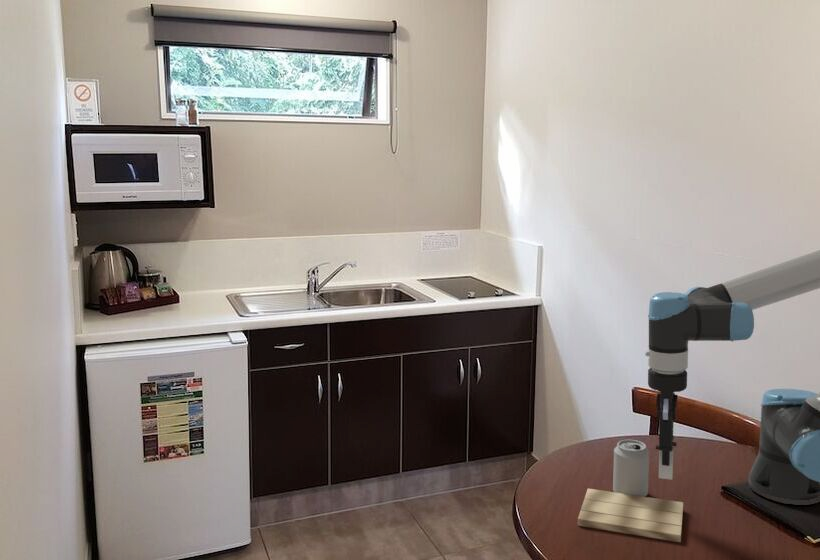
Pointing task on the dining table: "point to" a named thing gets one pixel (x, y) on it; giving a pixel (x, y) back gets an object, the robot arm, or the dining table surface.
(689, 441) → the dining table surface
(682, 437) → the dining table surface
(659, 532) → the laid board
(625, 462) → the can
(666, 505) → the plank
